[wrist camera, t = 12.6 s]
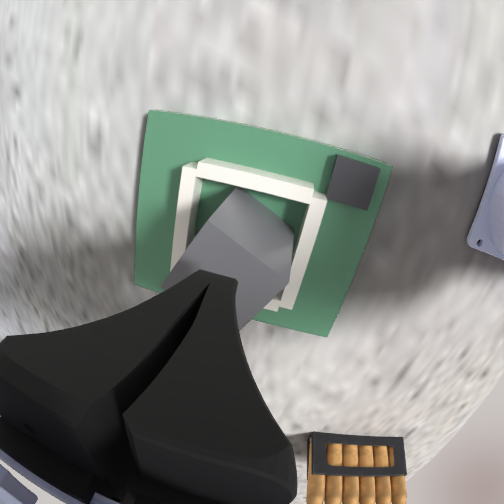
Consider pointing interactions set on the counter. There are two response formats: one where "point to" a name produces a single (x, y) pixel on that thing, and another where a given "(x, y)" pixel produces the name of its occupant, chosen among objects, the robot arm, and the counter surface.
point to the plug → (241, 252)
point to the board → (269, 194)
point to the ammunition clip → (355, 469)
